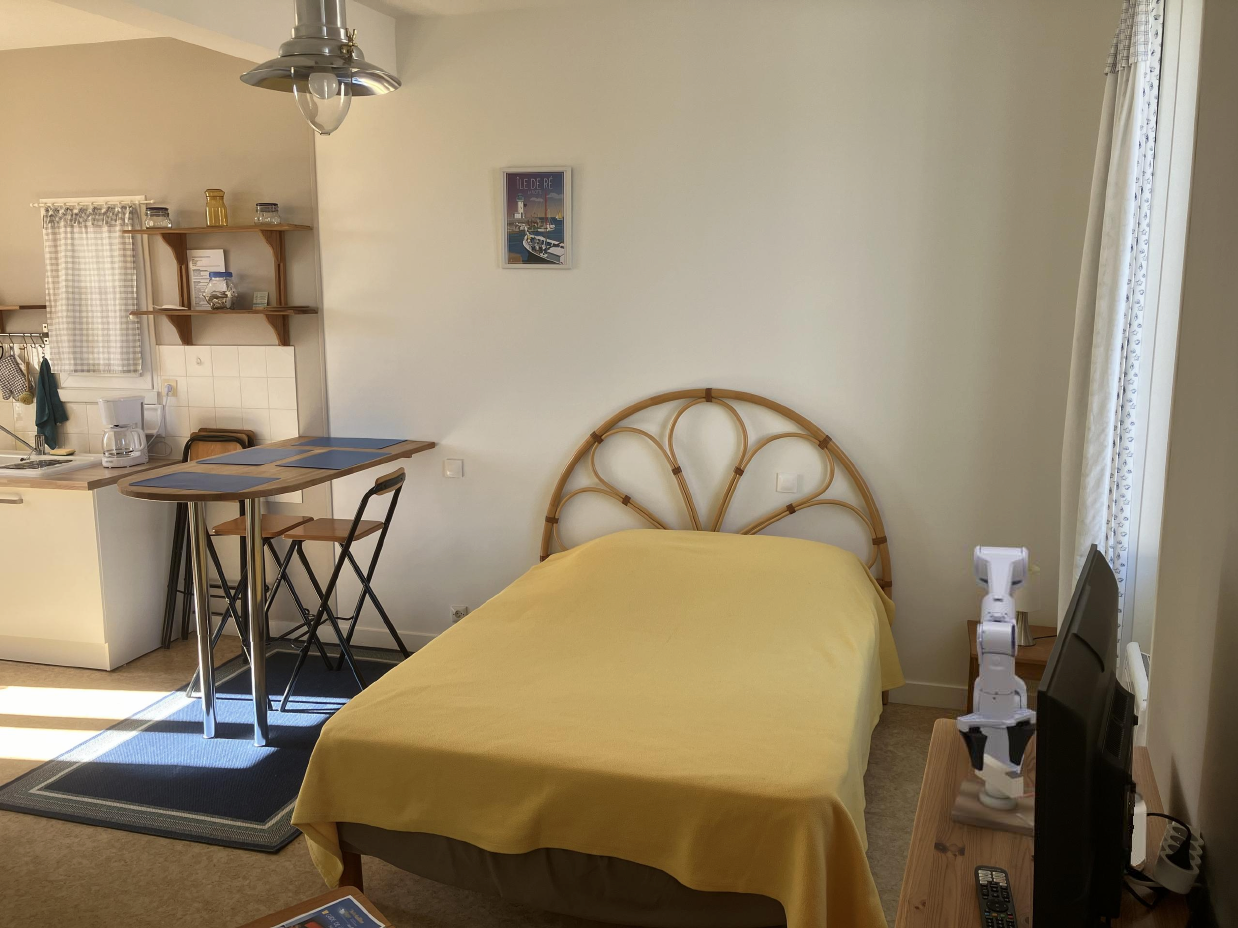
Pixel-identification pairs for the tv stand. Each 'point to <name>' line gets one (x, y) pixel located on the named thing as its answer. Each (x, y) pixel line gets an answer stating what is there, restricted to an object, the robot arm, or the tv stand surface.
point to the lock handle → (1000, 779)
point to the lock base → (994, 809)
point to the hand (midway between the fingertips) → (996, 766)
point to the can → (1139, 830)
